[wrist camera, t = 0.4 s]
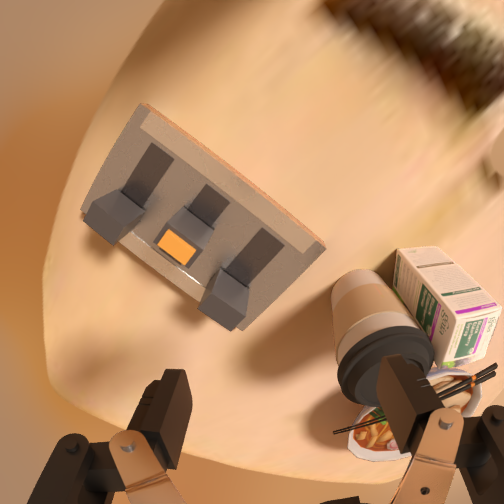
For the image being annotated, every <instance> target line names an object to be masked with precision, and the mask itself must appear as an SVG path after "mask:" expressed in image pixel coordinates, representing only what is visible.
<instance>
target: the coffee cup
mask: <svg viewBox="0 0 504 504" xmlns="http://www.w3.org/2000/svg"><path fill="white" fill-rule="evenodd" d="M331 305H332V312H333V315H332V323H333V333H334V342H335V353H336V361H337V364H338V366H339V367H338V372H337V378H338V382H339V384H340V386H341V389H342V392H343V394H344V395H345V396H346V397H347V398H348V399H349V400H351V401H353V402H355V403H358V404H362V405H366V406H369V407H381V404H380V402H379V400H378V397H377V391H376V386H377V380H378V375H379V369H380V364H381V359H382V357H384V356H390V355H395V354H401V355H402V357H403V358H404V360H405V361H406V363H407V364H411V363H412V364H414V365H415V366H417V367H418V368H420V369H421V370H422V372H423V373H424V375H425V376H426V377H427V374H428V373H429V371H430V369H431V367H432V365H433V361H434V349H433V346H432V344H431V340H430V338H429V337H428V335H427V334H426V333H425V332H423V331H422V330H420V328H419V325H418V323H417V322H416V320H415V319H414V318H413V316H412V315H411V314H410V312H409V311H408V310H407V308H406V307H405V306H404V304H403V303H402V302H401V300H400V299H399V298H398V297H397V295H396V294H395V293H394V291H393V290H392V289H390V288H389V287H388V286H387V284H386V283H385V282H384V281H383V279H382V278H381V277H380V276H379V275H378V274H377V273H376V272H374V271H371V270H368V269H358V270H354V271H351V272H349V273H347V274H345V275H344V276H342V277H341V278H340V279H339V280H338V281H337V282H336V284H335V285H334V287H333V289H332V293H331Z"/></svg>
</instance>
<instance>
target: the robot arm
mask: <svg viewBox="0 0 504 504" xmlns="http://www.w3.org/2000/svg"><path fill="white" fill-rule="evenodd" d="M376 391H377V397H378V400H379V402H380V404H381V407H382V409H383V412H384V414H385V416H386V419H387V421H388V424H389V426H390V429H391V431H392V434H393V436H394V439H395V441H396V444H397V446H398V449H399V451H400V454H405V453H408V452H410V453H411V455H412V458H411V460H410V462H409V465H408V467H407V469H406V471H405V473H404V476H403V478H402V480H401V482H400V484H399V486H398V488H397V490H396V492H395V494H394V496H393V497H392V499H391V501H390V503H389V504H444V503H445V500H446V497H447V494H448V491H449V488H450V486H451V482H452V479H453V476H454V473H455V470H456V468H459V470H460V472H461V475H462V477H463V479H464V482H465V485H466V487H467V490H468V492H469V495H470V497H471V500H472V503H473V504H504V407H503V406H499V405H492V406H490V407H487V408H486V409H485V410H484V412H483V414H482V416H479V417H462V415H461V414H460V413H459V412H458V411H456V410H454V409H451V408H445V406H444V404H443V403H442V401H441V400H440V398H439V396H438V395H437V393H436V392H435V390H434V389H433V387H432V385H430V382H429V381H428V379H426V376H425V375H424V373H423V372H422V370H421V369H420V368H418V367H417V366H415V365H414V364H412V363H411V364H407V363H406V361H405V360H404V358H403V357H402V355H401V354H395V355H390V356H384V357H382V359H381V364H380V369H379V375H378V380H377V386H376ZM191 412H192V395H191V391H190V387H189V383H188V379H187V375H186V372H185V370H184V369H166V370H165V371H164V374H163V376H162V378H161V380H154V381H153V382H152V383H151V384H149V385H148V386H147V387H146V389H145V391H144V393H143V395H142V398H141V399H140V402H139V405H138V406H137V408H136V410H135V412H134V414H133V417H132V419H131V421H130V423H129V425H128V427H127V429H126V430H124V431H121V432H119V433H117V434H115V435H114V436H113V437H112V438H111V440H110V441H109V442H98V443H89V442H88V440H87V438H86V437H84V436H83V435H81V434H76V433H74V434H68V435H66V436H64V437H63V438H61V439H60V440H59V441H58V443H57V445H56V447H55V448H54V450H53V452H52V454H51V456H50V458H49V460H48V462H47V464H46V466H45V468H44V470H43V472H42V474H41V475H40V478H39V480H38V482H37V484H36V486H35V488H34V490H33V492H32V494H31V496H30V498H29V500H28V503H27V504H111V503H112V500H113V497H114V493H115V492H117V491H125V492H126V494H127V496H128V499H129V501H130V503H131V504H186V502H185V501H184V499H183V498H182V496H181V495H180V493H179V492H178V490H177V489H176V487H175V486H174V484H173V483H172V481H171V480H170V478H169V477H168V475H167V474H166V470H167V469H175V470H176V469H177V465H178V461H179V457H180V453H181V449H182V446H183V442H184V438H185V434H186V431H187V427H188V423H189V419H190V415H191ZM320 504H368V503H360V500H359V496H356V497H350V498H345V499H338V500H331V501H327V502H323V503H320Z"/></svg>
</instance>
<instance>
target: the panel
mask: <svg viewBox="0 0 504 504" xmlns="http://www.w3.org/2000/svg"><path fill="white" fill-rule="evenodd" d="M116 189H117V190H119V191H120V192H121V193H122V194H124V195H125V196H126V197H127V198H129V199H130V200H131V201H132V202H134V203H135V204H136V205H138V206H139V207H140V208H141V209H143V210H144V211H145V212H144V214H143V215H142V217H141V218H140V220H139V221H138V223H137V225H136V226H135V228H134V229H133V230H132V231H130V232H129V233H128V234H127V235H126V236H124V237H123V238H122V239H121V240H120V241H119V242H120V243H121V244H122V245H123V246H125V247H126V248H127V249H129V250H130V251H131V252H132V253H134V254H135V255H136V256H138V257H139V258H140V259H141V260H143V261H144V262H145V263H147V264H148V265H149V266H151V267H152V268H153V269H155V270H156V271H157V272H159V273H160V274H161V275H163V276H164V277H165V278H167V279H168V280H169V281H171V282H172V283H173V284H175V285H176V286H177V287H179V288H180V289H182V290H183V291H184V292H186V293H187V294H188V295H190V296H191V297H193V298H194V299H195V300H197V301H198V302H200V301H201V298H202V296H203V293H204V291H205V288H206V286H207V283H208V282H209V281H210V280H211V279H212V278H213V276H214V275H215V274H216V273H217V272H218V271H219V269H222V270H223V271H224V272H226V273H227V274H228V275H230V276H231V277H232V278H234V279H235V280H236V281H238V282H239V283H241V284H242V285H243V286H245V287H246V288H247V289H249V290H250V293H249V299H248V306H247V312H246V317H245V318H244V319H243V320H242V321H241V322H240V323H239V324H238V325H237V326H236V327H237V328H238V329H240V330H241V331H243V330H244V329H246V328H247V327H248V326H249V325H250V324H251V323H252V322H253V321H254V320H255V319H256V318H257V317H258V316H259V315H260V314H261V313H262V312H263V311H264V310H265V309H266V308H268V307H269V306H270V305H271V304H272V303H273V302H274V301H275V300H276V299H277V298H278V297H279V296H280V295H281V294H282V293H283V292H284V291H285V290H286V289H287V288H288V287H289V286H290V285H291V284H292V283H293V282H294V281H295V280H296V279H297V278H298V277H299V276H300V275H301V274H302V273H303V272H304V271H305V270H306V269H307V268H308V267H309V266H310V265H311V264H312V263H313V262H314V261H315V260H316V259H317V258H318V257H319V256H320V255H321V254H322V253H323V252H324V251H325V250H326V246H325V244H324V241H322V240H321V239H320V238H319V237H318V236H317V235H315V234H314V233H313V232H312V231H311V230H309V229H308V228H307V227H306V226H305V225H304V224H302V223H301V222H300V221H299V220H298V219H296V218H295V217H294V216H293V215H292V214H290V213H289V212H288V211H287V210H286V209H284V208H283V207H282V206H281V205H280V204H278V203H277V202H276V201H275V200H273V199H272V198H271V197H270V196H268V195H267V194H266V193H265V192H264V191H262V190H261V189H260V188H259V187H257V186H256V185H255V184H254V183H252V182H251V181H250V180H249V179H247V178H246V177H245V176H243V175H242V174H241V173H240V172H238V171H237V170H236V169H235V168H233V167H232V166H231V165H229V164H228V163H227V162H226V161H224V160H223V159H222V158H220V157H219V156H218V155H216V154H215V153H214V152H212V151H211V150H210V149H209V148H207V147H206V146H205V145H203V144H202V143H201V142H199V141H198V140H197V139H195V138H194V137H193V136H191V135H190V134H188V133H187V132H186V131H184V130H183V129H182V128H180V127H179V126H178V125H176V124H175V123H174V122H172V121H171V120H169V119H168V118H167V117H165V116H164V115H162V114H161V113H160V112H158V111H157V110H155V109H154V108H153V107H151V106H150V105H148V104H141V103H140V104H139V106H138V107H137V109H136V111H135V112H134V114H133V115H132V117H131V118H130V120H129V121H128V123H127V125H126V126H125V128H124V129H123V131H122V133H121V134H120V136H119V138H118V139H117V141H116V143H115V144H114V146H113V148H112V149H111V151H110V153H109V155H108V156H107V158H106V160H105V162H104V164H103V165H102V167H101V169H100V171H99V173H98V175H97V177H96V178H95V180H94V182H93V184H92V186H91V188H90V190H89V192H88V194H87V196H86V198H85V200H84V202H83V205H82V207H81V209H80V210H81V211H83V212H84V213H85V214H87V212H88V209H89V207H90V205H91V203H92V201H94V200H96V199H98V198H100V197H102V196H104V195H106V194H108V193H110V192H112V191H114V190H116ZM182 207H184V208H185V209H187V210H188V211H189V212H190V213H192V214H193V215H194V216H196V217H197V218H198V219H200V220H201V221H202V222H203V223H205V224H206V225H207V226H209V227H210V228H211V229H213V230H214V232H213V234H212V236H211V237H210V239H209V241H208V243H207V245H206V247H205V248H204V250H203V251H202V253H201V254H200V255H199V256H198V258H197V259H196V260H195V262H194V263H193V264H192V265H191V267H190V268H189V269H188V268H186V267H185V266H184V265H182V264H181V263H180V262H178V261H177V260H176V259H174V258H173V257H172V256H170V255H169V254H168V253H167V252H165V251H164V250H163V249H161V248H160V247H159V246H157V245H156V244H155V243H153V241H154V240H155V238H156V237H157V235H158V234H159V232H160V231H161V230H162V228H163V227H164V225H165V224H166V222H167V221H168V220H169V219H170V218H171V217H172V216H173V215H174V214H175V213H177V212H178V211H179V210H180V209H181V208H182Z"/></svg>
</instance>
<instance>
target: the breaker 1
mask: <svg viewBox="0 0 504 504" xmlns="http://www.w3.org/2000/svg"><path fill="white" fill-rule="evenodd" d="M144 212H145V211H144V210H143V209H141V208H140V207H139V206H138V205H136V204H135V203H134V202H132V201H131V200H130V199H129V198H127V197H126V196H125V195H124V194H122V193H121V192H120V191H119V190H117V189H116V190H114V191H112V192H110V193H108V194H106V195H104V196H102V197H100V198H98V199H96V200H94V201H92V203H91V205H90V207H89V209H88V212H87V214H86V216H85V218H84V220H83V221H84V222H85V223H86V224H87V225H89V226H90V227H91V228H92V229H93V230H95V231H96V232H97V233H98V234H99V235H101V236H102V237H103V238H104V239H106V240H107V241H108V242H109V243H110V244H112V245H113V246H114V245H115V244H116V243H117V242H119V241H120V240H121V239H122V238H123V237H124V236H126V235H127V234H128V233H129V232H130V231H132V230H133V229H134V228H135V226H136V225H137V223H138V221H139V220H140V218H141V217H142V215H143V214H144Z"/></svg>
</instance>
